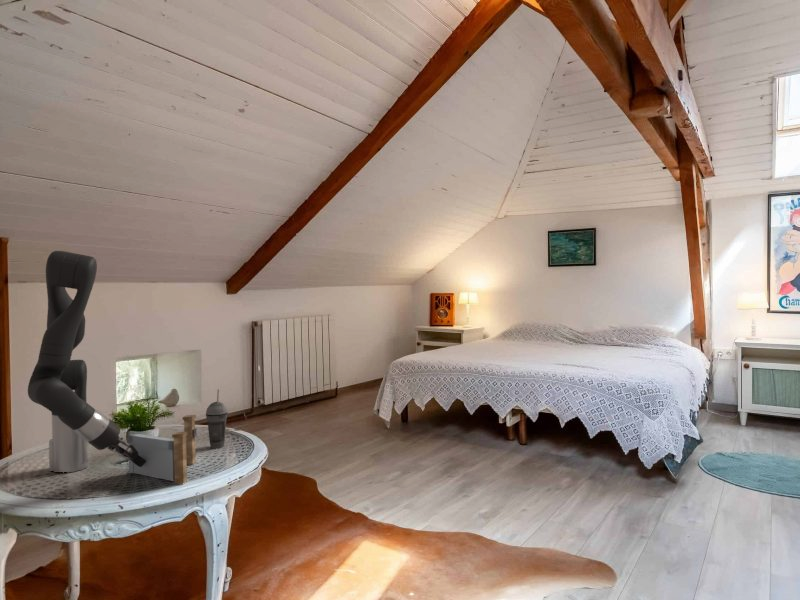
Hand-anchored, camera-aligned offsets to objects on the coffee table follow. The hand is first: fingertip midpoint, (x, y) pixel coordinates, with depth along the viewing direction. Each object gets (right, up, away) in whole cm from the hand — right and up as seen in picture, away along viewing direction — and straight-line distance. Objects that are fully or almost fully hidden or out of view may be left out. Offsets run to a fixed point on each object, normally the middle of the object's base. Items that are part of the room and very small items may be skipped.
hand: (142, 463), depth 155 cm
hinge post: (+13, -4, -5) cm, 15 cm away
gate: (+3, -3, 0) cm, 5 cm away
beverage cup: (+11, -4, +32) cm, 34 cm away
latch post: (+9, -4, +13) cm, 16 cm away
